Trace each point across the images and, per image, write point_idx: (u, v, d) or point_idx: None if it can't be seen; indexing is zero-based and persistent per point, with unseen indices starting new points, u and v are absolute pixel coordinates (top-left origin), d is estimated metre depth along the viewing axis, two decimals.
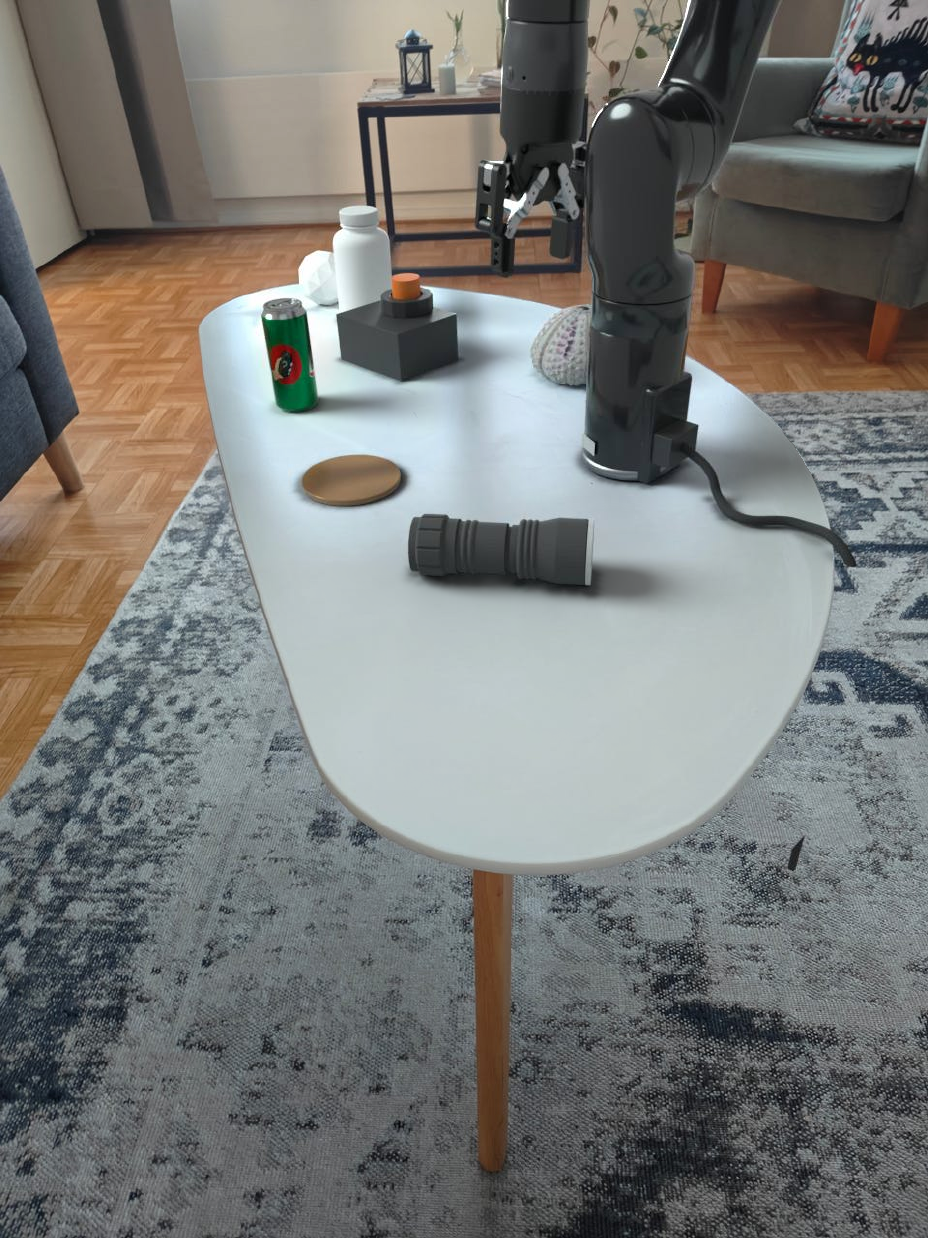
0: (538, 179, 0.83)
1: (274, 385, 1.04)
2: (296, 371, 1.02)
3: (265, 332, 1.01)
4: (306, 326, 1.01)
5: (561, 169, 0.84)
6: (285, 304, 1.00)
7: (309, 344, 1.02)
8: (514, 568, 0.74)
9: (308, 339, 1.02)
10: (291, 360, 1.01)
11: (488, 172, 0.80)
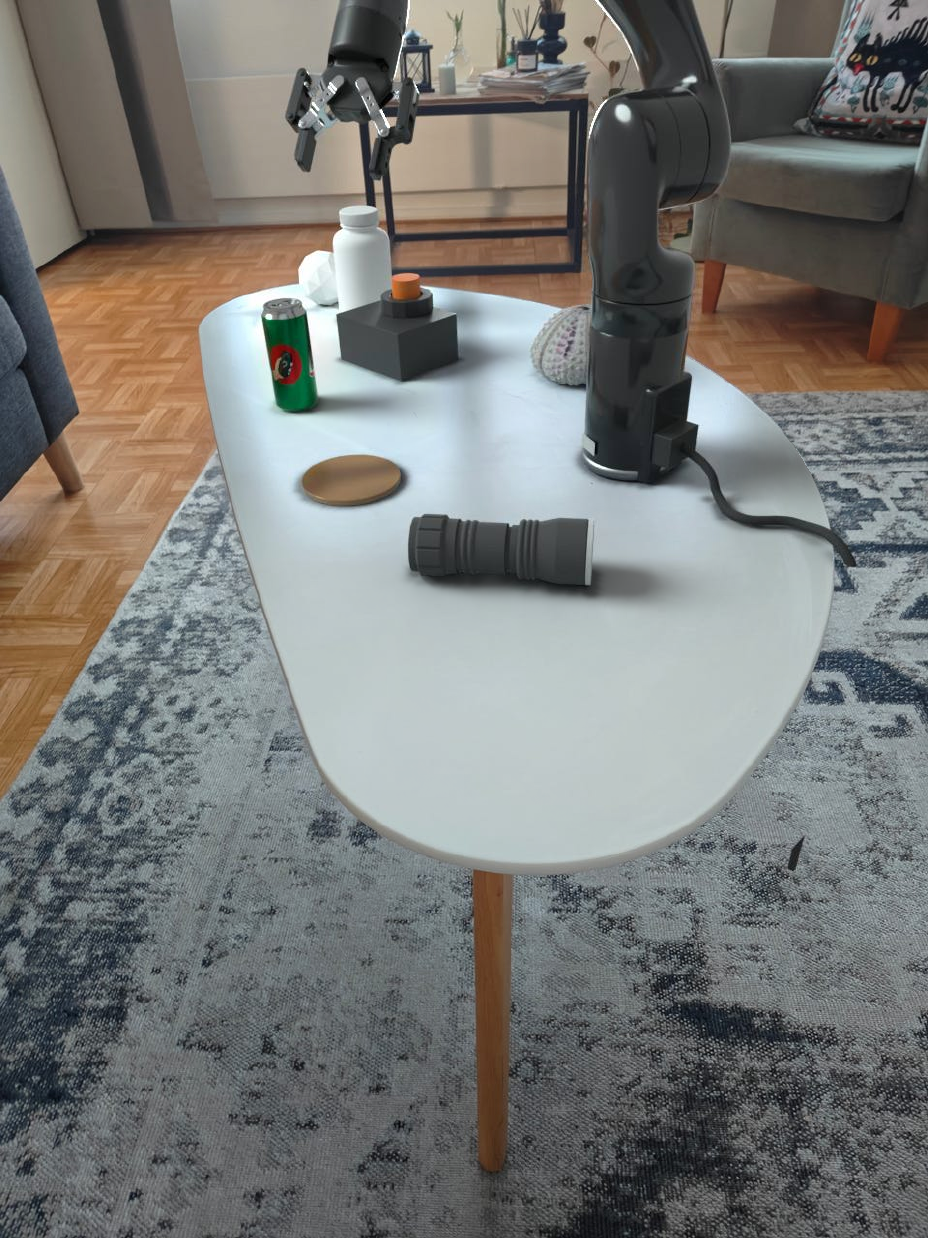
0: (331, 82, 0.97)
1: (274, 385, 1.04)
2: (296, 371, 1.02)
3: (265, 332, 1.01)
4: (306, 326, 1.01)
5: (359, 81, 0.96)
6: (285, 304, 1.00)
7: (309, 344, 1.02)
8: (514, 568, 0.74)
9: (308, 339, 1.02)
10: (291, 360, 1.01)
11: None
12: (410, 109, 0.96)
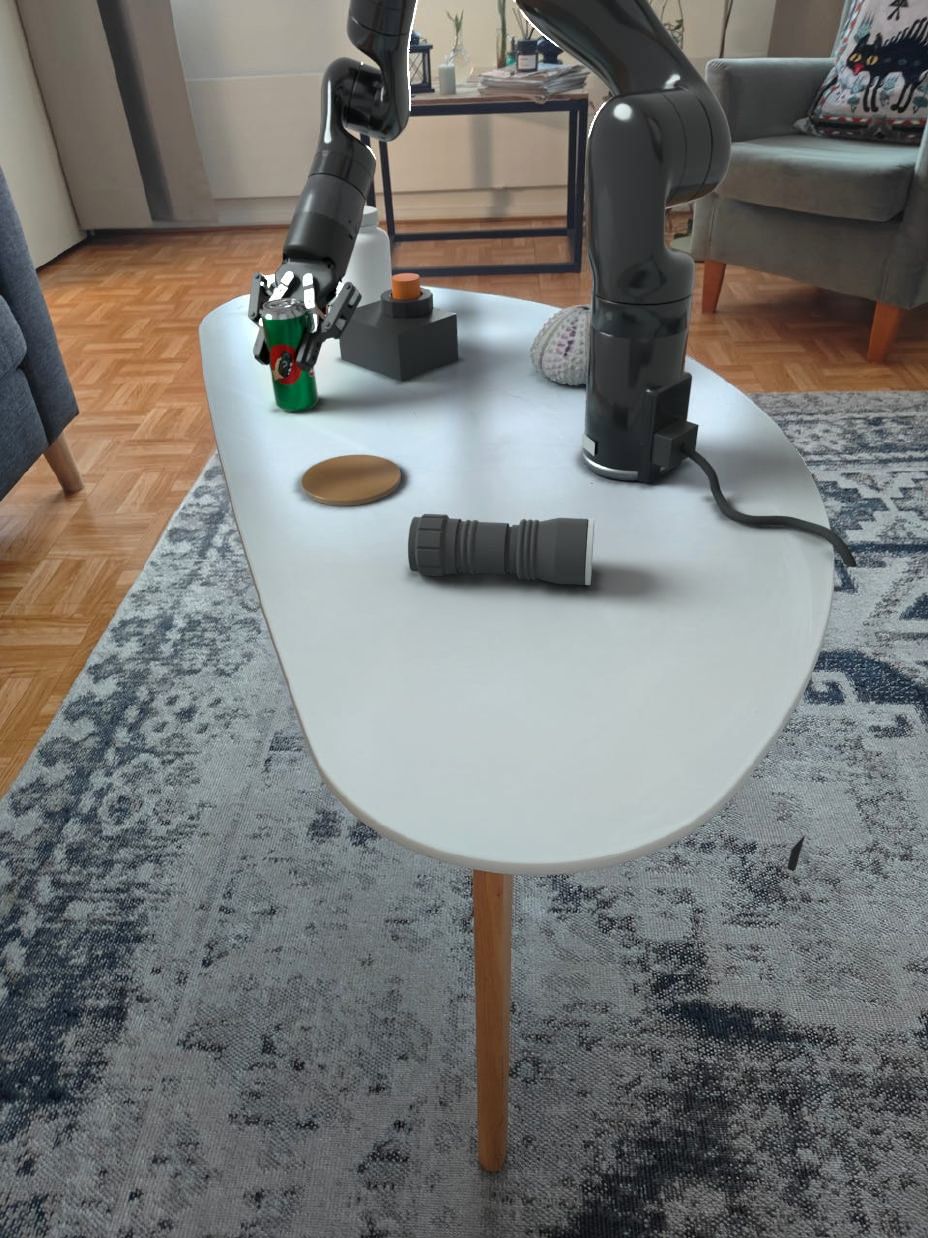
0: (282, 280, 1.02)
1: (274, 385, 1.04)
2: (296, 371, 1.02)
3: (265, 332, 1.01)
4: (306, 326, 1.01)
5: (306, 277, 1.01)
6: (285, 304, 1.00)
7: None
8: (514, 568, 0.74)
9: None
10: (291, 360, 1.01)
11: None
12: (342, 311, 1.00)
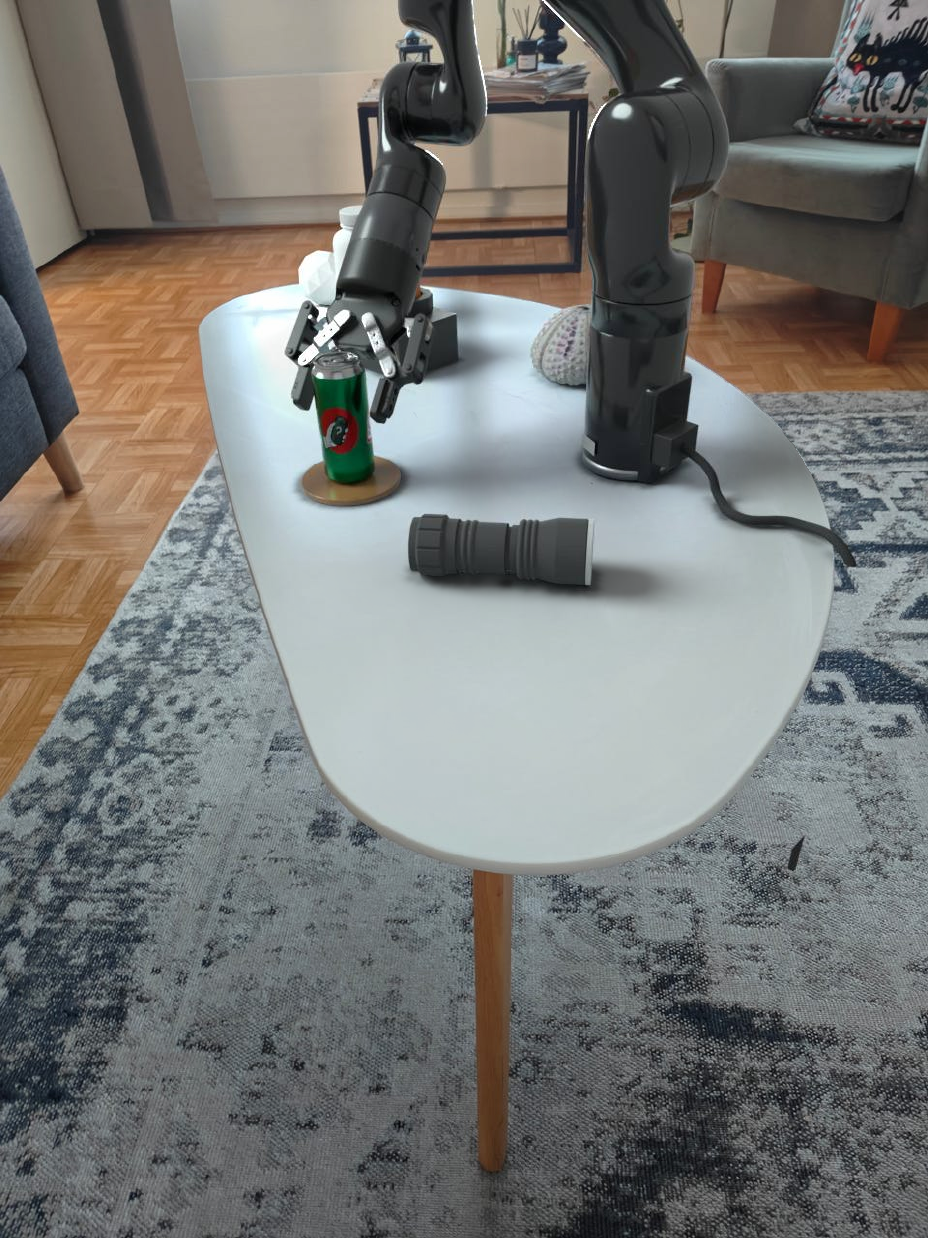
0: (336, 317, 0.85)
1: (324, 453, 0.88)
2: (352, 438, 0.86)
3: (315, 393, 0.84)
4: (364, 385, 0.85)
5: (365, 316, 0.84)
6: (340, 360, 0.84)
7: (367, 406, 0.86)
8: (514, 568, 0.74)
9: (366, 400, 0.86)
10: (347, 425, 0.85)
11: None
12: (421, 348, 0.83)
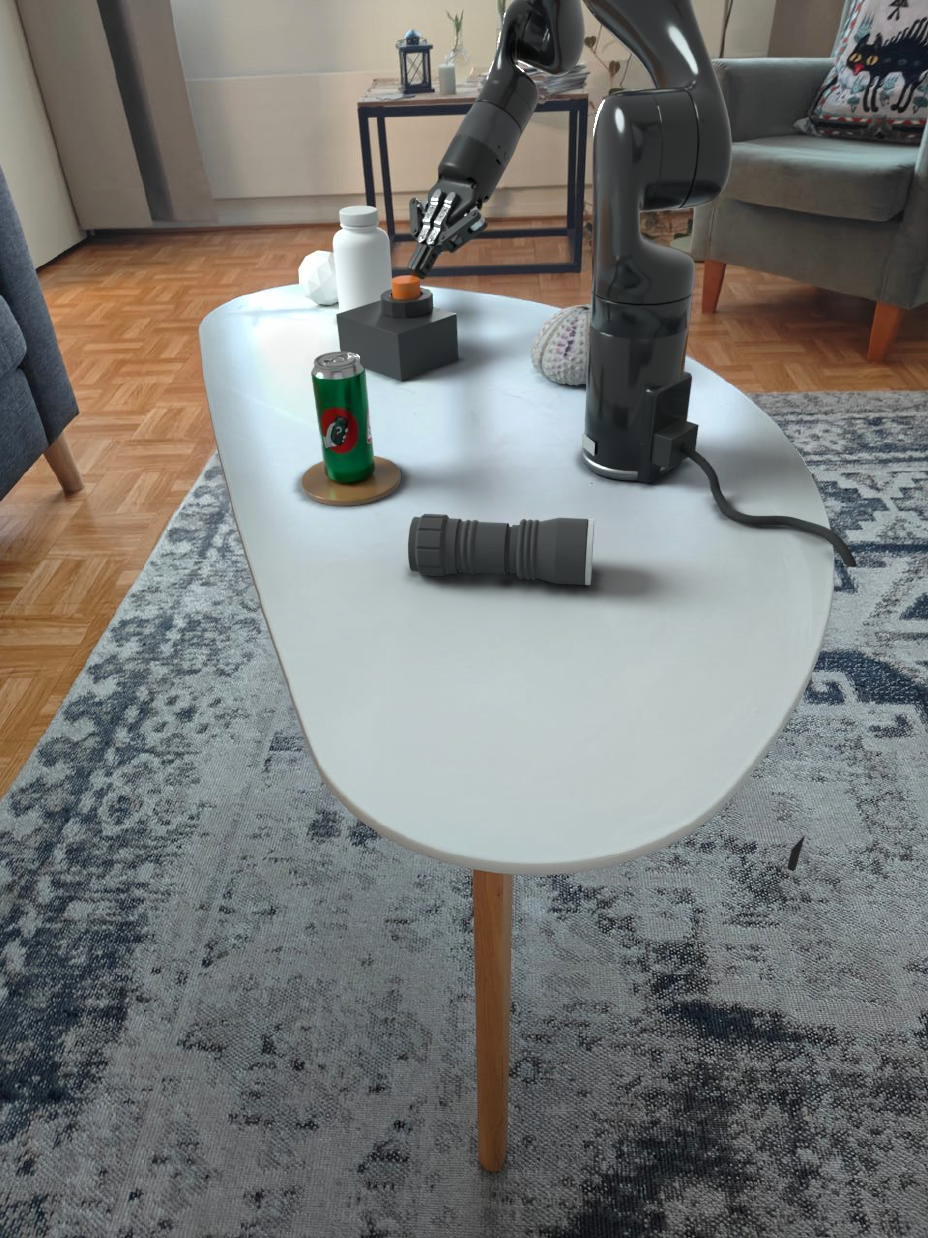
0: (432, 198, 1.13)
1: (324, 453, 0.88)
2: (352, 438, 0.86)
3: (315, 393, 0.84)
4: (364, 385, 0.85)
5: (450, 194, 1.12)
6: (340, 360, 0.84)
7: (367, 406, 0.86)
8: (514, 568, 0.74)
9: (366, 400, 0.86)
10: (347, 425, 0.85)
11: None
12: (459, 232, 1.11)
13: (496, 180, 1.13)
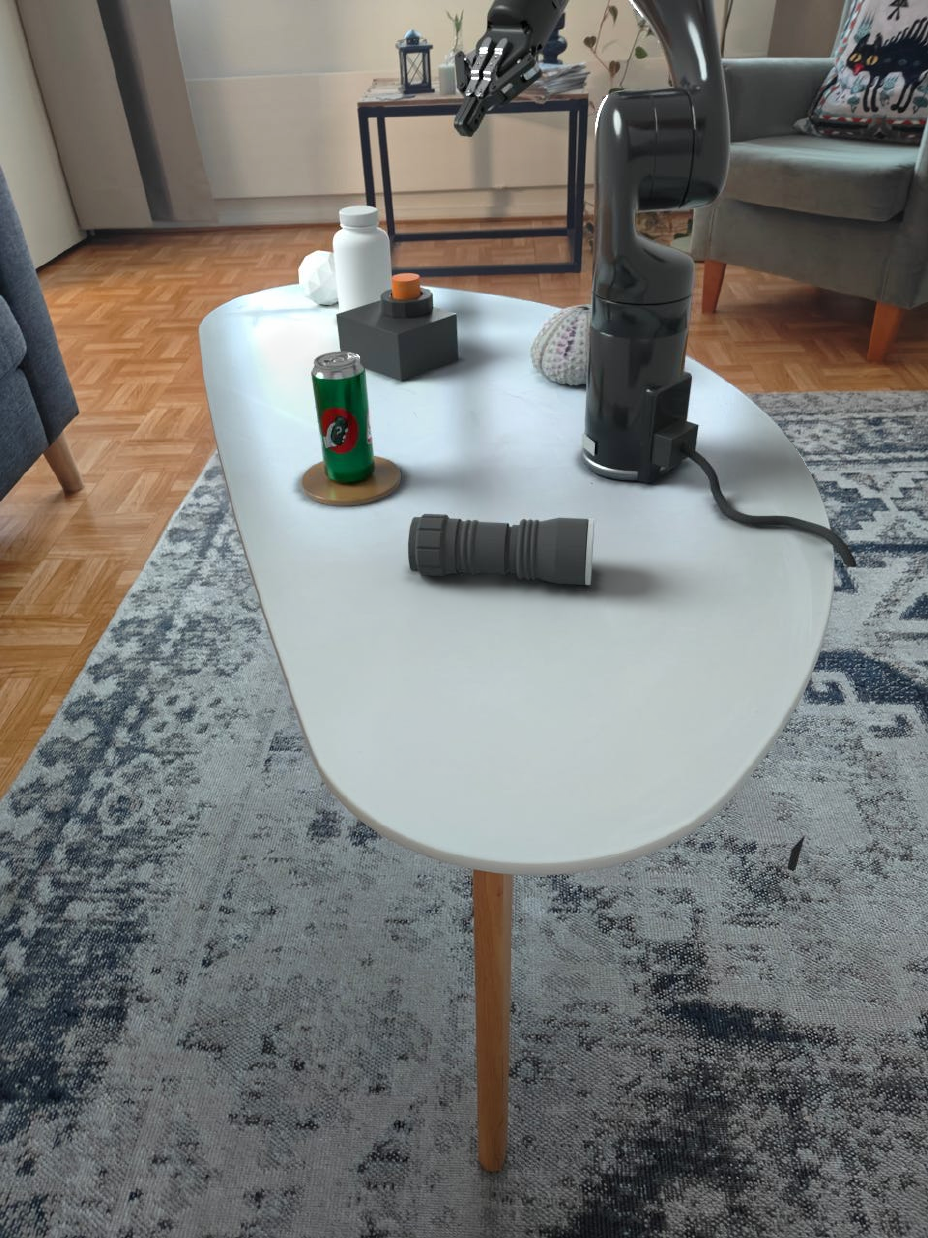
0: (481, 47, 1.05)
1: (324, 453, 0.88)
2: (352, 438, 0.86)
3: (315, 393, 0.84)
4: (364, 385, 0.85)
5: (501, 41, 1.03)
6: (340, 360, 0.84)
7: (367, 406, 0.86)
8: (514, 568, 0.74)
9: (366, 400, 0.86)
10: (347, 425, 0.85)
11: None
12: (511, 80, 1.02)
13: (551, 27, 1.04)
